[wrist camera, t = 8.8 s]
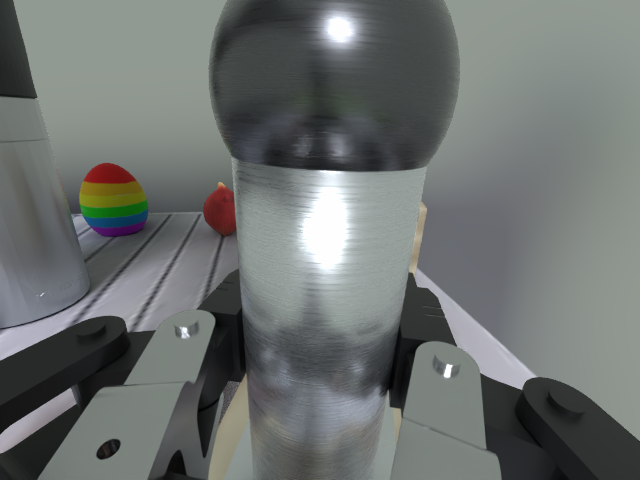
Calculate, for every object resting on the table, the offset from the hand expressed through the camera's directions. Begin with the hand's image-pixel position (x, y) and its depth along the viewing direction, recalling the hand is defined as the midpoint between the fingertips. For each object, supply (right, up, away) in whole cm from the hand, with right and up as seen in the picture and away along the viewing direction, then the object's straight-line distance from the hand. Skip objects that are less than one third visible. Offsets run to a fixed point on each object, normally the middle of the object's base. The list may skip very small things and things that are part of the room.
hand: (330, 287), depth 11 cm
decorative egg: (-31, +3, +34) cm, 46 cm away
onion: (-15, +2, +34) cm, 37 cm away
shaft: (0, -6, +4) cm, 8 cm away
